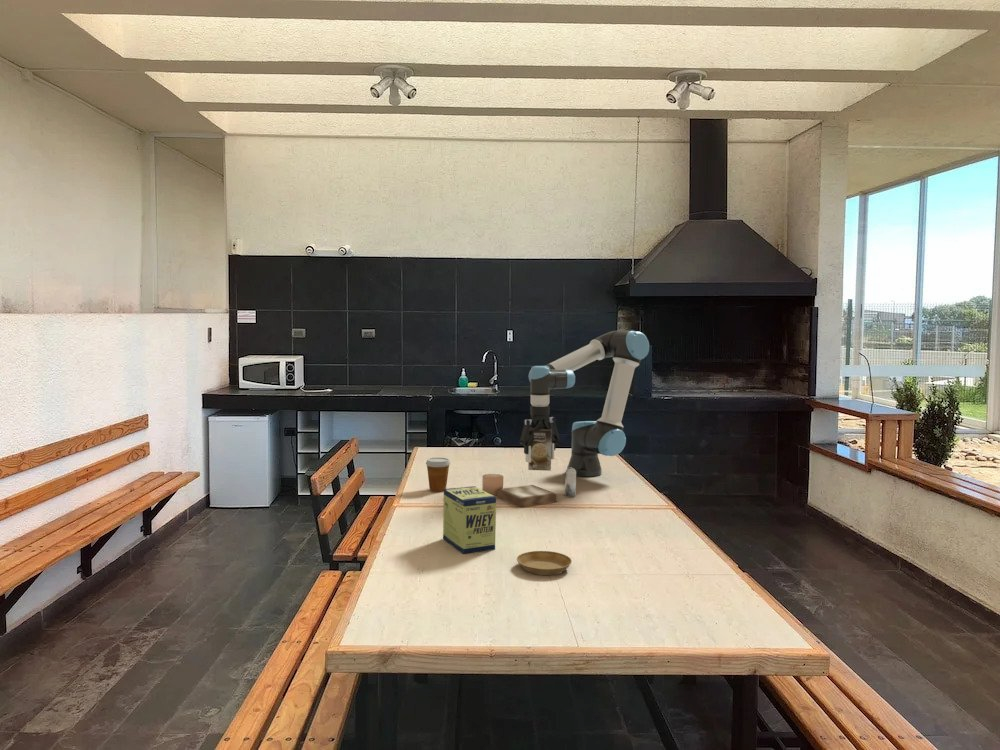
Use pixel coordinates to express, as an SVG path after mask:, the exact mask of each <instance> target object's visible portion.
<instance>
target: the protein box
mask: <svg viewBox="0 0 1000 750" xmlns="http://www.w3.org/2000/svg"><path fill="white" fill-rule="evenodd" d="M442 515H443V516H442V517H443V521H442V522H443V524H442V527H443V528H442V539H443V540H444V541H445V542H447V543H448V544H450V545H451V546H452V547H453V548H455V549H456V550H457V551H459V552H460V553H461V554H463V555H465V554H471V553H472V554H473V553H477V552H484V551H492V550H496V527H497V525H496V522H497V521H496V519H497V496H496V497H495V496H493V495H491V494H489V493H487V492H485V491H483V490H482V488H479V487H477V486H473V485H472V486H461V487H450V488H446V489H444V491H443V514H442Z"/></svg>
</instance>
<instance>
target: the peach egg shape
mask: <svg viewBox="0 0 1000 750" xmlns="http://www.w3.org/2000/svg"><path fill="white" fill-rule="evenodd" d="M503 488H504V475H503V474H499V473H485V474H483V475H482V488H481V490H483V491H485V492H487V493H489V494H491V495H493V496H495V497H496V498H497V489H503Z"/></svg>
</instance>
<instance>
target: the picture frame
mask: <svg viewBox="0 0 1000 750" xmlns="http://www.w3.org/2000/svg"><path fill="white" fill-rule="evenodd" d="M557 495H558V494H557V493H555V492H553V491H550V490H549V489H545V488H542V487H540V486H537V485H534V484H529V485H521V486H512V487H503V489H497V496H496V498H498V499H501V500H503V501H505V502H508V503H510V504H512V505H515V506H516V507H518V508H523V507H531V506H537V505H544V504H552V503H557V501H558V500H557V498H558V497H557Z"/></svg>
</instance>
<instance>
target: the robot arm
mask: <svg viewBox="0 0 1000 750" xmlns="http://www.w3.org/2000/svg"><path fill="white" fill-rule="evenodd" d="M649 352H650V342H649V339H648V337H647V336H646V334H644V333H643V332H641V331H635V330H613V331H608V332H607V333H604V334H602V335H600V336H597V337H596V338H593V339H591V341H589V344H587V345H584V346H582V347H580V348H579V349H576V350H574V351H572V352H570V353H567V354H566V355H564V356H562V357H560V358H557V359H556V360H554V361H552V362H549V363H547V364H546V365H534V366H531V369H530V370H529V372H528V381H529V383H530V384H529V385H530V386H529V387H530V404H531V405H530V408H529V409H530V411H529V412H530V413H529V414H530V419H523V427H522V431H521V435H520V439H519V445H522V446H523V454H525V462H526V463H528V462H529V463H530V462H531V446H529V444H530V442H531V440H532V438H533V436H534V431H537V430H538V429H541V428H543V429H544V428H545V429H550V428H551V429H552V430H551V460H555V451H556V449H557V447H556V444H557V443H558V441H559V442H560V440H561V438H560V433H559V430H558V427H557V423H556V422H557V421H556V420H557V418H556V417H555V416H549V415H550V405H549V404H550V390H557V389H558V390H559V389H560V390H561V389H563V390H564V389H570V388H573V387H574V386H575V383H576V375H575V373H574V371H576V370H579V369H581V368H583V367H584V366H587V365H589V364H591V363H593V362H596V360H598V361H601V360H604V359H606V358H612V360H613V362H614V366H613V370H612V374H611V378H610V381H609V386H608V390H607V393H606V397H605V401H604V402H605V403H604V405H603V410H602V412H601V417H599V418H598V419H597V420H585V421H574V422H573V423H572V427H571V452H570V453H571V454H570V459H569V461H568V465H567V466H566V470H567V469H568V468H570V467H572V468H574V469H575V470H576V477H598V476H600V475H602V467H601V462H600V459H599V455H602V456H605V457H615V456H617V455H619V454H620V453H621V452H622V451H624V448H625V446H626V443H627V437H626V434H625V431H624V427H625V426H624V425H623V423H622V420H623V416H624V412H625V410H626V409H625V408H626V405H627V401H628V396H629V393H630V389H631V386H632V381H633V377H634V373H635V369H636V368H637V367H639V366H640V364H641V360H643V359H645V358H646V357H647V356H648V355H649ZM529 428H530V430H533V431H532V432H531V434H530V435H529Z"/></svg>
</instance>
